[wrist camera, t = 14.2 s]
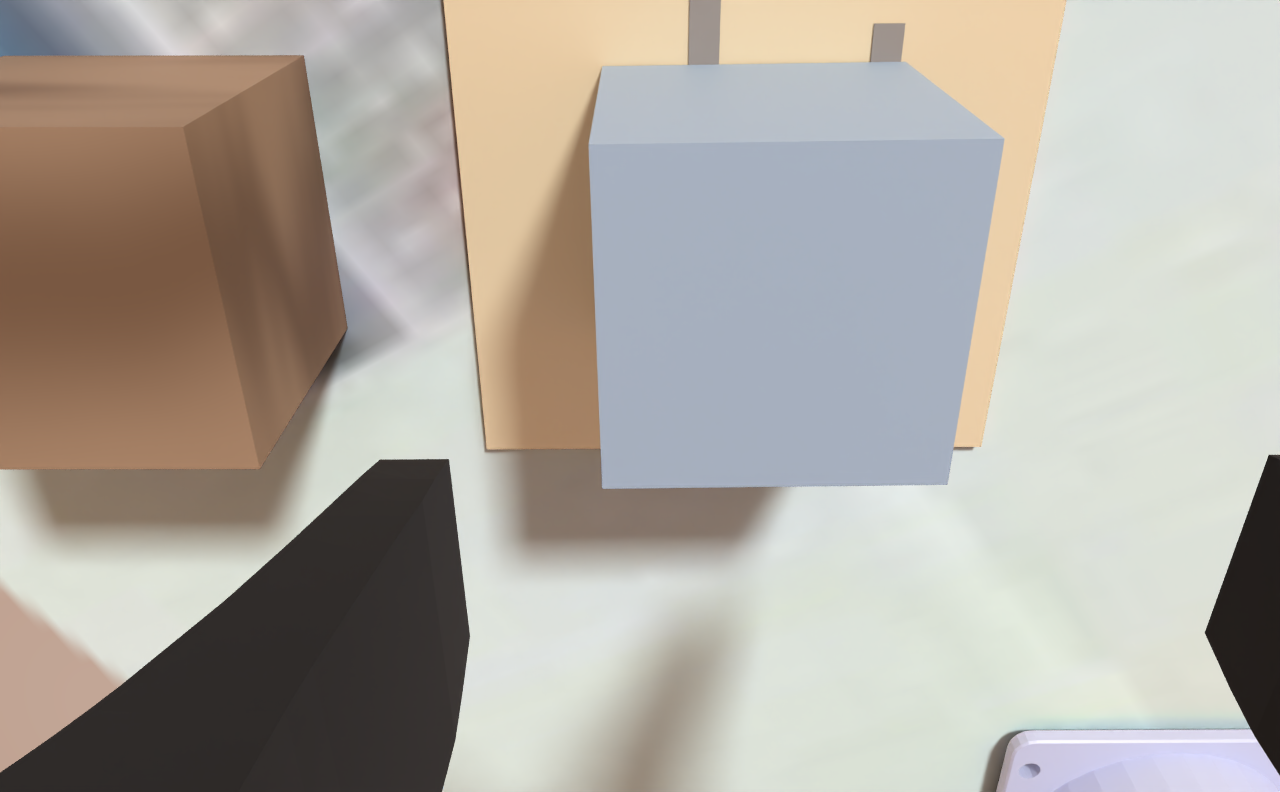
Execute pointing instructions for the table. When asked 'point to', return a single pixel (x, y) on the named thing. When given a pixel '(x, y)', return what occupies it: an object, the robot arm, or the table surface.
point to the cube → (784, 272)
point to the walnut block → (159, 260)
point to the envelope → (687, 35)
